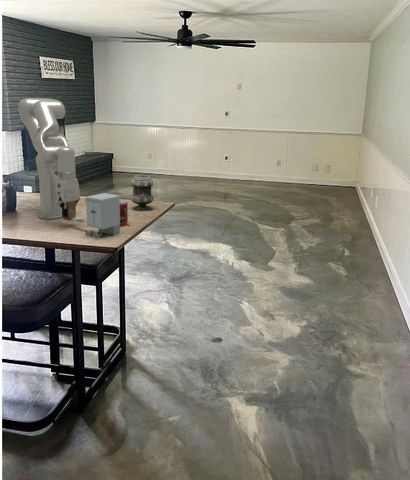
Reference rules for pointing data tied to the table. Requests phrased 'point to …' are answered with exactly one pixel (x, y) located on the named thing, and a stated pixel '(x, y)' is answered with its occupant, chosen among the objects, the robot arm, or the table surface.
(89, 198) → the cabinet
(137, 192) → the apothecary jar
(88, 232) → the disc
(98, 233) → the disc
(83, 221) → the brown wooden block
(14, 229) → the table surface
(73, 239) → the table surface
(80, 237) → the table surface
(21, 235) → the table surface
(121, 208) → the canned food
